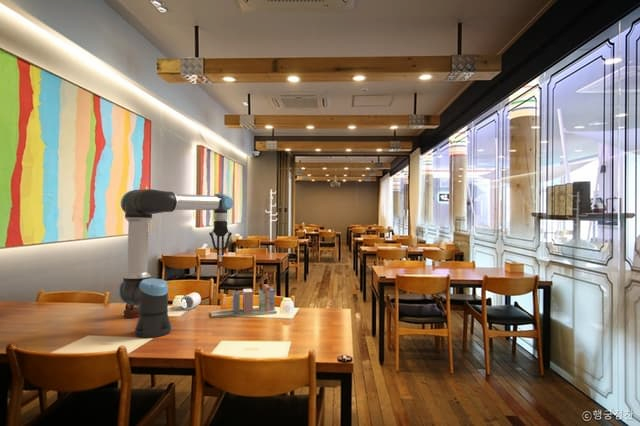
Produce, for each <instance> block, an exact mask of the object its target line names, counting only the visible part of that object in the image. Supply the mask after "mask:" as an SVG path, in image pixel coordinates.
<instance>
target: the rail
mask: <svg viewBox="0 0 640 426" xmlns="http://www.w3.org/2000/svg"><path fill="white" fill-rule="evenodd" d="M275 294H276V293H275V289H274V288H273V287H271V286H270V285H269V284H263V289H259V290H258V307H253V313H244V311H243V308H240V312H239V313H233V308H232V309H217V310H216V309H215V310H210V318H211V319H217V318H218V319H219V318H230V317H232V318H234V317H247V316H258V315H259V314H263V315H273V314H274V315H275V314H276V313H278V311H277V310H276V308H275ZM259 316H260V315H259Z"/></svg>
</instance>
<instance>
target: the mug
mask: <svg viewBox="0 0 640 426" xmlns="http://www.w3.org/2000/svg"><path fill="white" fill-rule="evenodd" d="M180 299H181V302H182V300H183V299H185V300H186V303H187V307H186V308H185V309H186V310H185V309H184V310H185V311H189V310H191V309H193V308H195V307H197V306H199V304H201V302H202V297H201V295H200V294H199V293H198V292H194V291H193V292H190V293H188V294H187V295H184V296H183V297H181V298H180Z"/></svg>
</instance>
